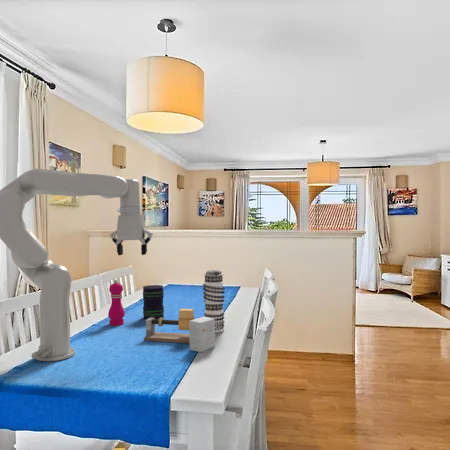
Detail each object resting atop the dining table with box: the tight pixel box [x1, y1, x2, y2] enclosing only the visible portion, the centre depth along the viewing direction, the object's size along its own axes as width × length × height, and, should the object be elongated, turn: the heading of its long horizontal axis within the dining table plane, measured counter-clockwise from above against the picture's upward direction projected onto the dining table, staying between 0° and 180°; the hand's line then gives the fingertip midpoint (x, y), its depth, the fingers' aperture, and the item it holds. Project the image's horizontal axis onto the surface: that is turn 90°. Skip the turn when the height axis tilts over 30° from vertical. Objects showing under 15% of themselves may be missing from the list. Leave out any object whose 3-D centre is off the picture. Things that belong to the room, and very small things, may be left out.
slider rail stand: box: [143, 318, 190, 344], centre depth 156 cm, size 8×22×8 cm, turn 78°
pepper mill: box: [107, 279, 126, 327], centre depth 181 cm, size 7×7×20 cm
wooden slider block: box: [177, 308, 195, 331], centre depth 155 cm, size 4×5×7 cm
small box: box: [188, 316, 216, 353], centre depth 145 cm, size 8×6×10 cm
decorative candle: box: [202, 269, 226, 333], centre depth 169 cm, size 9×9×25 cm
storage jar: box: [142, 284, 165, 321], centre depth 192 cm, size 10×10×15 cm
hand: (132, 254), depth 157 cm, fingers open, 9 cm apart
